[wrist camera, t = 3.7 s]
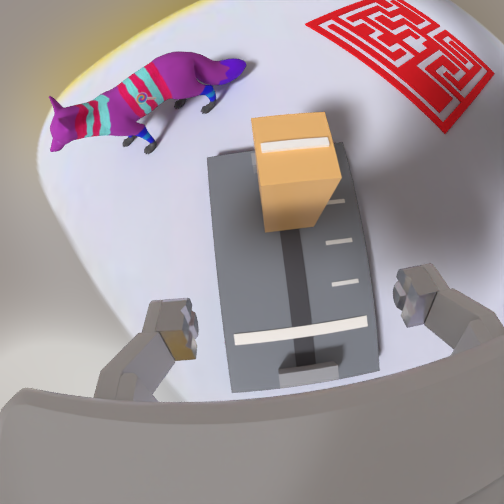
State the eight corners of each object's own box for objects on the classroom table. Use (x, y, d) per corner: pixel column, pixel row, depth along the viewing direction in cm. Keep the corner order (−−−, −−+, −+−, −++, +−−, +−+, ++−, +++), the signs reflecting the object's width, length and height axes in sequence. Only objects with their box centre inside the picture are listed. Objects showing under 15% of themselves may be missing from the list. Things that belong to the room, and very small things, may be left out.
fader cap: (258, 186, 22) (250, 115, 13) (305, 181, 21) (325, 109, 12) (265, 232, 21) (260, 184, 12) (313, 226, 21) (343, 175, 12)
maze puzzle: (492, 75, 25) (494, 73, 24) (443, 136, 24) (446, 132, 23) (388, -6, 28) (389, -8, 27) (304, 27, 27) (305, 23, 26)
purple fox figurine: (89, 170, 25) (23, 120, 15) (235, 66, 26) (222, -13, 16) (102, 196, 24) (31, 149, 14) (258, 85, 25) (251, 2, 15)
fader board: (210, 165, 24) (202, 148, 21) (339, 150, 24) (346, 133, 21) (234, 387, 21) (229, 399, 18) (373, 366, 21) (386, 375, 18)
